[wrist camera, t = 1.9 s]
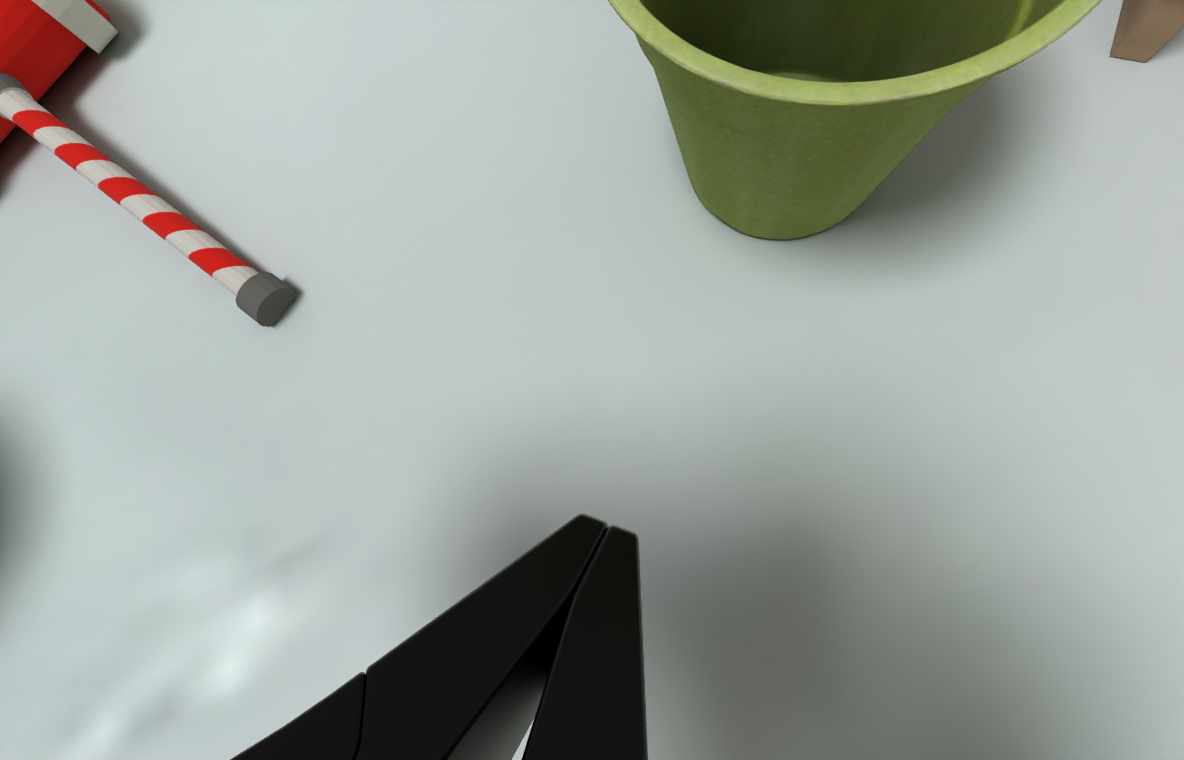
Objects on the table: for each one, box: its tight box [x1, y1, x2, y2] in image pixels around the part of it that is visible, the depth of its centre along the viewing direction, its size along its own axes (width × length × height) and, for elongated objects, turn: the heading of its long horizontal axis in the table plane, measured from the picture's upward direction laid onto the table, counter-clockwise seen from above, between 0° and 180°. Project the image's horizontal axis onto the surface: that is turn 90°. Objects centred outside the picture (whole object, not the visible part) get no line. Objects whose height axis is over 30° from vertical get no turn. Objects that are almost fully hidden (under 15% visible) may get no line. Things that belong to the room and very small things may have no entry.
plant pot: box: [608, 0, 1102, 239], centre depth 18 cm, size 12×12×11 cm
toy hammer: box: [0, 0, 296, 327], centre depth 26 cm, size 23×12×6 cm, turn 53°
